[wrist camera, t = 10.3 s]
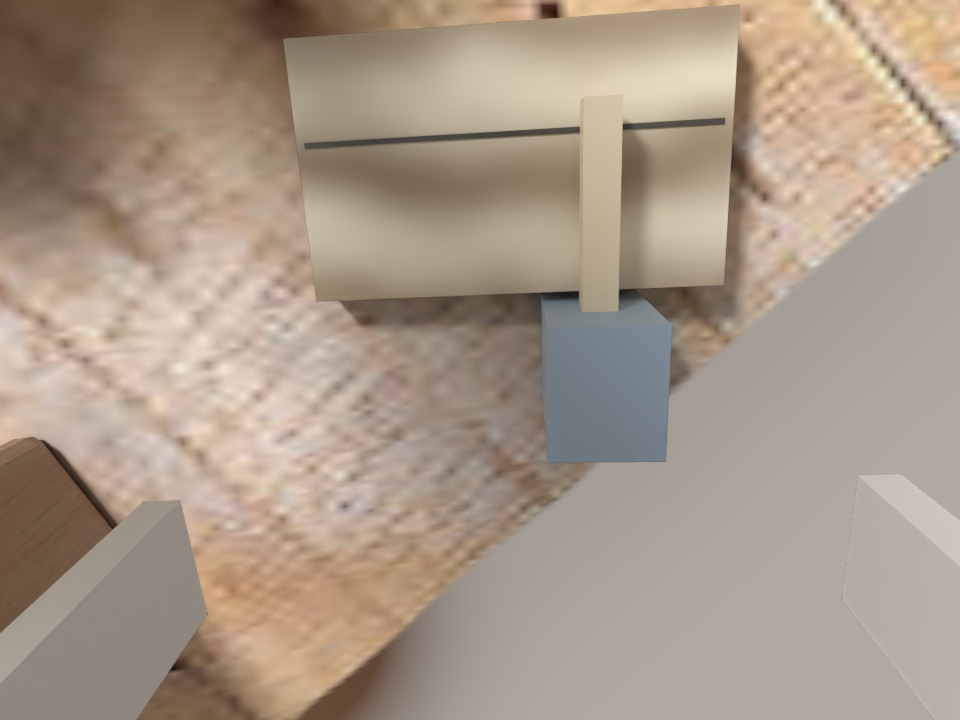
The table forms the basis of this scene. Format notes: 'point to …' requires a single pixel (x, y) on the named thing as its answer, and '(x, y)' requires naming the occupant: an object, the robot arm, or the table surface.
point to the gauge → (603, 326)
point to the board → (511, 152)
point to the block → (39, 525)
